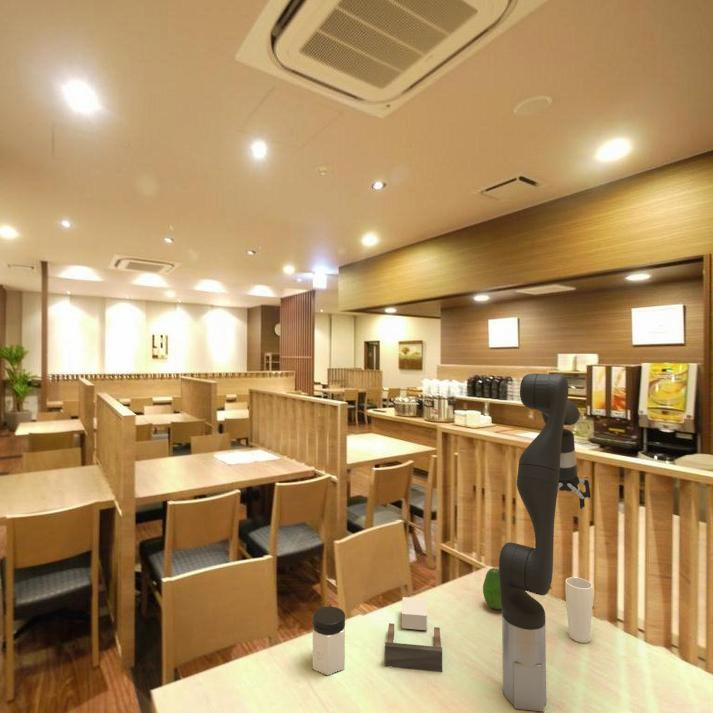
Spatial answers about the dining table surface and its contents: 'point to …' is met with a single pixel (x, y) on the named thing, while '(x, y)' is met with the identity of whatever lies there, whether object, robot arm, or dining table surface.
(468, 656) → the dining table surface
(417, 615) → the white rectangular block
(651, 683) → the dining table surface
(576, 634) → the drinking glass
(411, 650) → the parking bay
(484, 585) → the avocado
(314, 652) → the jar
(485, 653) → the dining table surface
